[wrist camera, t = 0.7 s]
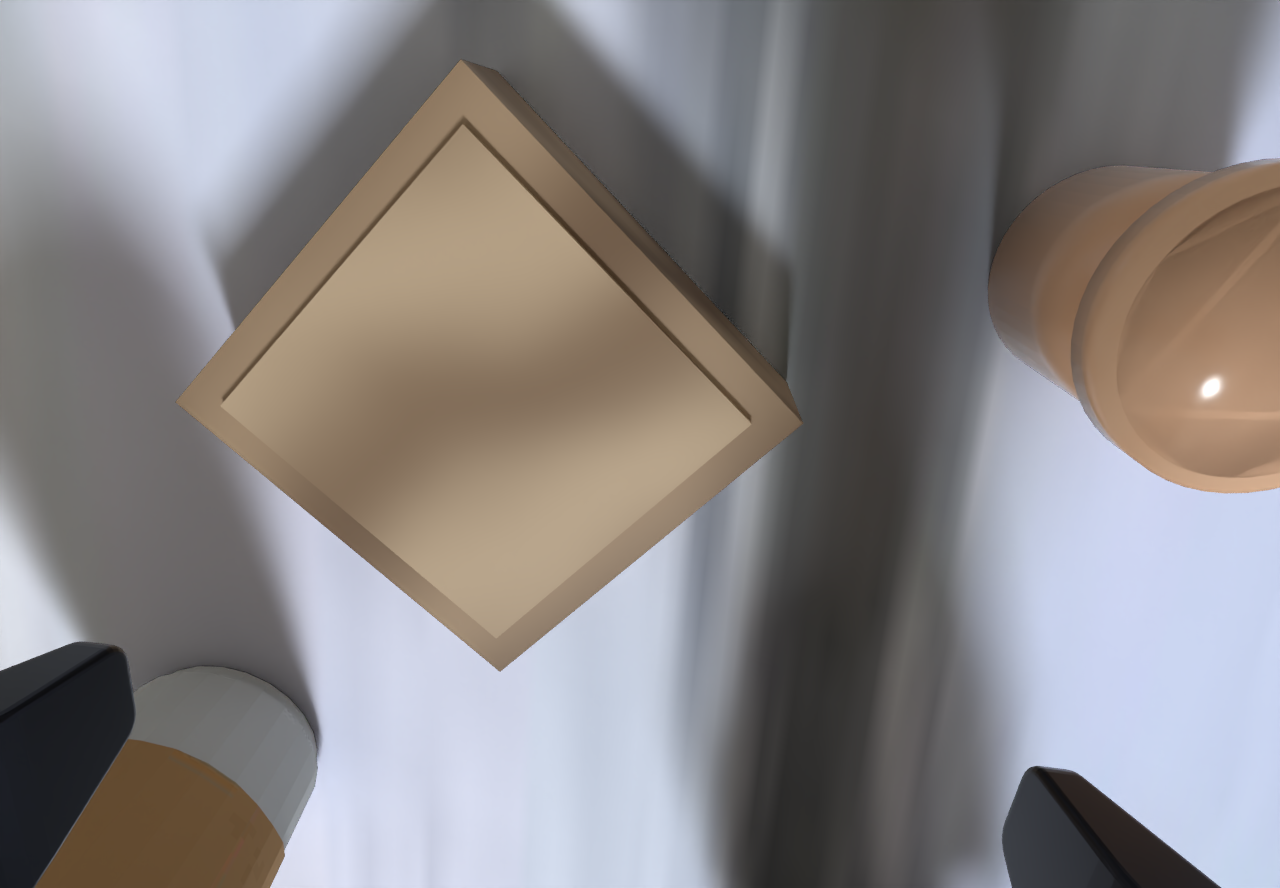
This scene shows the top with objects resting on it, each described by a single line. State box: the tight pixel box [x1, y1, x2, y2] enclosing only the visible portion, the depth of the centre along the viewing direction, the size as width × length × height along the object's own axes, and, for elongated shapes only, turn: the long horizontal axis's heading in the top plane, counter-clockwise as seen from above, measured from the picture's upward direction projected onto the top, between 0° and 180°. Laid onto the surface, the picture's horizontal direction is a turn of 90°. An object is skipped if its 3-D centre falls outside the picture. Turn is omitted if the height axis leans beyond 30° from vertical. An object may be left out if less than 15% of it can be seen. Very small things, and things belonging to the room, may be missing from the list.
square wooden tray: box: [176, 59, 803, 671], centre depth 19 cm, size 10×10×3 cm
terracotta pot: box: [988, 158, 1280, 493], centre depth 16 cm, size 6×6×6 cm
